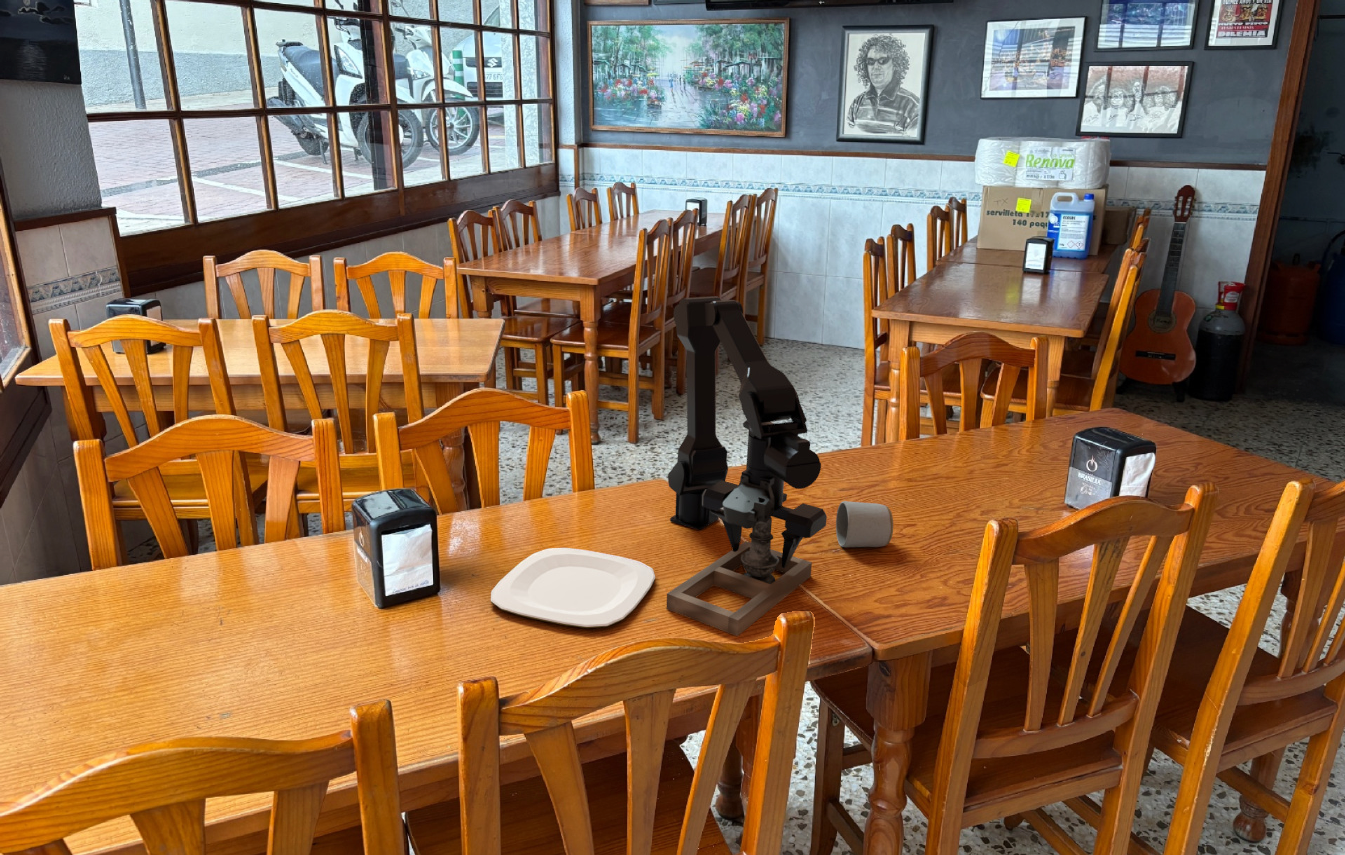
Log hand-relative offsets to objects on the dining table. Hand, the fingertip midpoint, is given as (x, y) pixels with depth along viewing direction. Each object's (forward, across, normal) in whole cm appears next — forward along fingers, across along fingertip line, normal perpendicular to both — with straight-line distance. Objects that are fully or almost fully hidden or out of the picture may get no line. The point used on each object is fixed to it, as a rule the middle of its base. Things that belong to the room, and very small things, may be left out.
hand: (759, 558), depth 141 cm
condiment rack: (+4, 0, -5) cm, 6 cm away
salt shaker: (+4, 0, 0) cm, 4 cm away
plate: (+4, -20, -20) cm, 29 cm away
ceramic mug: (+4, +6, +23) cm, 24 cm away
